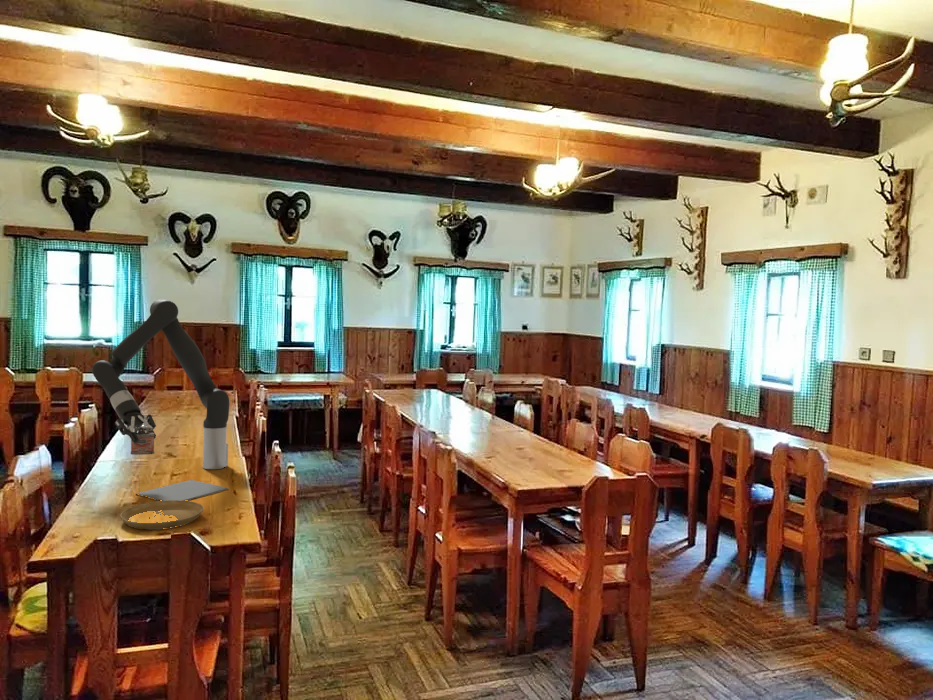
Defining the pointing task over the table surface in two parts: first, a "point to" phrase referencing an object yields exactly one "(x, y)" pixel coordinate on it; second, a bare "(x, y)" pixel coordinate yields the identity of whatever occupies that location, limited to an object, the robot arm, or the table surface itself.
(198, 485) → the mat
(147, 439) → the lighter
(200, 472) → the table surface
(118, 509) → the table surface
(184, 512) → the plant saucer
